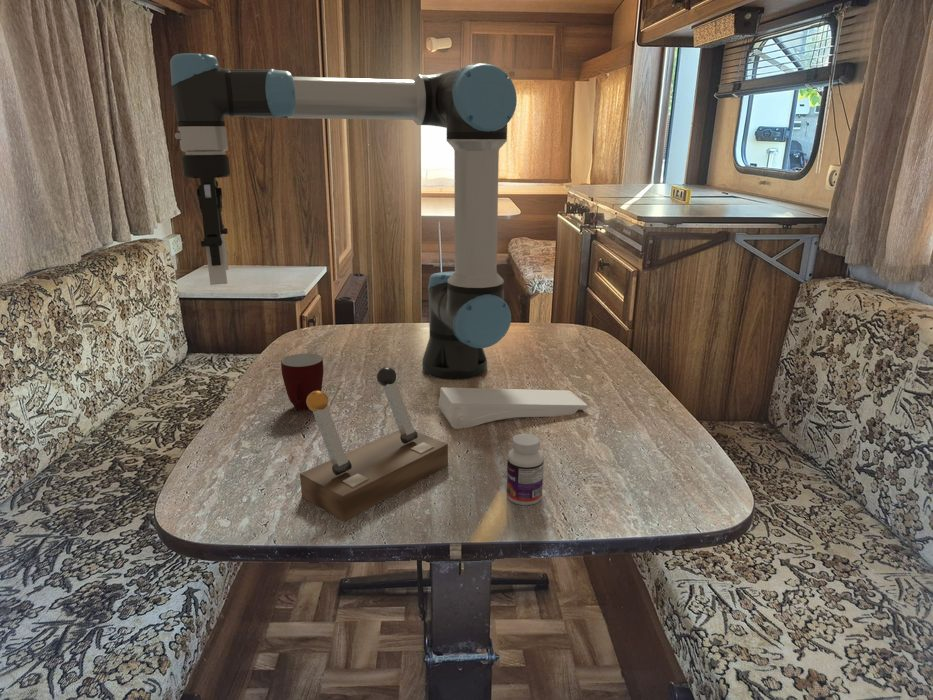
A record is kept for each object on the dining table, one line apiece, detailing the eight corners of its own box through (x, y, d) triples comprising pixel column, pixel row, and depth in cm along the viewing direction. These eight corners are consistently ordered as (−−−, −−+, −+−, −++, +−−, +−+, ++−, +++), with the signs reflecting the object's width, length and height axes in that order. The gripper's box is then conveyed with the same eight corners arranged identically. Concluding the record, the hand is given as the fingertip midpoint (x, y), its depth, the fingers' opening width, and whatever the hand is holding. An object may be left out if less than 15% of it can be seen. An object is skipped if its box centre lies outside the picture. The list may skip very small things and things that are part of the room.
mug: (319, 420, 127) (315, 371, 124) (277, 420, 127) (272, 371, 124) (329, 399, 137) (326, 353, 134) (290, 399, 137) (286, 353, 134)
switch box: (301, 497, 101) (299, 472, 99) (405, 447, 116) (405, 426, 115) (344, 521, 94) (342, 495, 93) (448, 465, 110) (447, 442, 109)
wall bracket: (563, 424, 140) (436, 423, 132) (566, 389, 140) (438, 386, 131) (587, 432, 131) (450, 431, 122) (589, 395, 131) (453, 392, 122)
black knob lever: (397, 446, 109) (370, 372, 109) (411, 439, 111) (384, 367, 111) (409, 442, 107) (381, 367, 107) (423, 436, 109) (396, 362, 109)
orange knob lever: (329, 477, 99) (299, 396, 99) (346, 469, 101) (316, 390, 101) (341, 474, 96) (310, 391, 97) (357, 466, 99) (327, 385, 99)
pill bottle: (504, 488, 103) (505, 431, 100) (538, 487, 104) (540, 430, 101) (509, 507, 98) (510, 447, 95) (545, 505, 99) (547, 446, 96)
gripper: (186, 152, 123) (201, 266, 129) (174, 155, 100) (193, 292, 107) (229, 152, 125) (241, 263, 131) (226, 154, 102) (242, 288, 109)
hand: (220, 276), depth 119 cm, fingers open, 13 cm apart
